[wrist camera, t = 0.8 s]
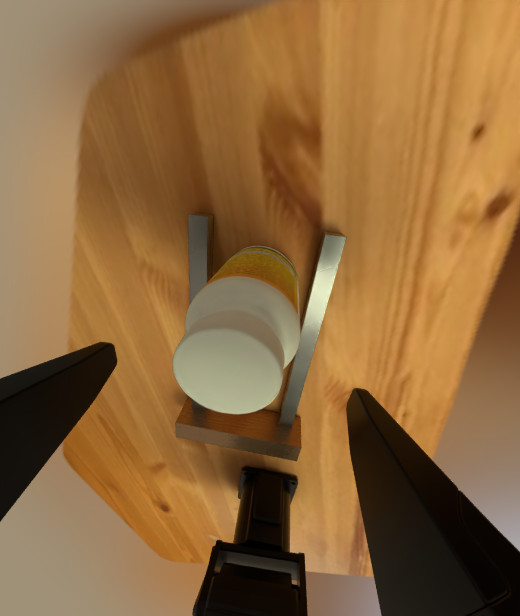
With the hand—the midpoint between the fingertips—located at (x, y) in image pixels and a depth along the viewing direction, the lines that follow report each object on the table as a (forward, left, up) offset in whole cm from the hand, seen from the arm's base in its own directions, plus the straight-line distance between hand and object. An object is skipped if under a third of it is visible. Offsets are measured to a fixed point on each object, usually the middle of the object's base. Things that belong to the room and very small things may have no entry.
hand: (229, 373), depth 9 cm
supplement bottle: (0, 0, -9) cm, 9 cm away
